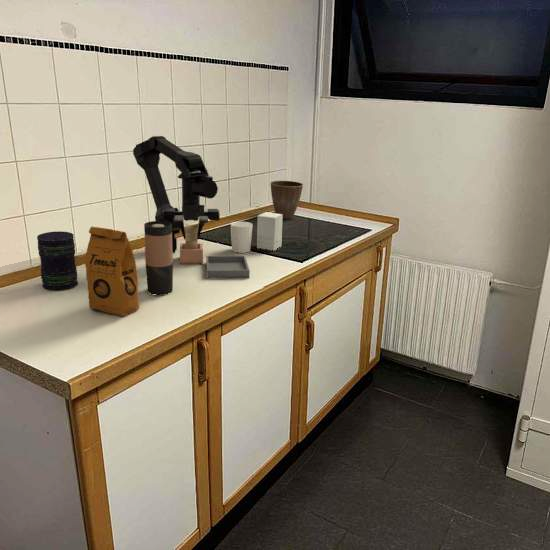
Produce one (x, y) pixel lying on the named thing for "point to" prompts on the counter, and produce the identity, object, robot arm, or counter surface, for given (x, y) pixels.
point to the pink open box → (191, 254)
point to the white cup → (241, 236)
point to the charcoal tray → (227, 267)
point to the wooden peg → (191, 237)
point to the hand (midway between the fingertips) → (191, 239)
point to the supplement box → (269, 231)
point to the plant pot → (286, 197)
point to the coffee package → (111, 272)
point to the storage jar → (57, 260)
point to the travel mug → (159, 257)
